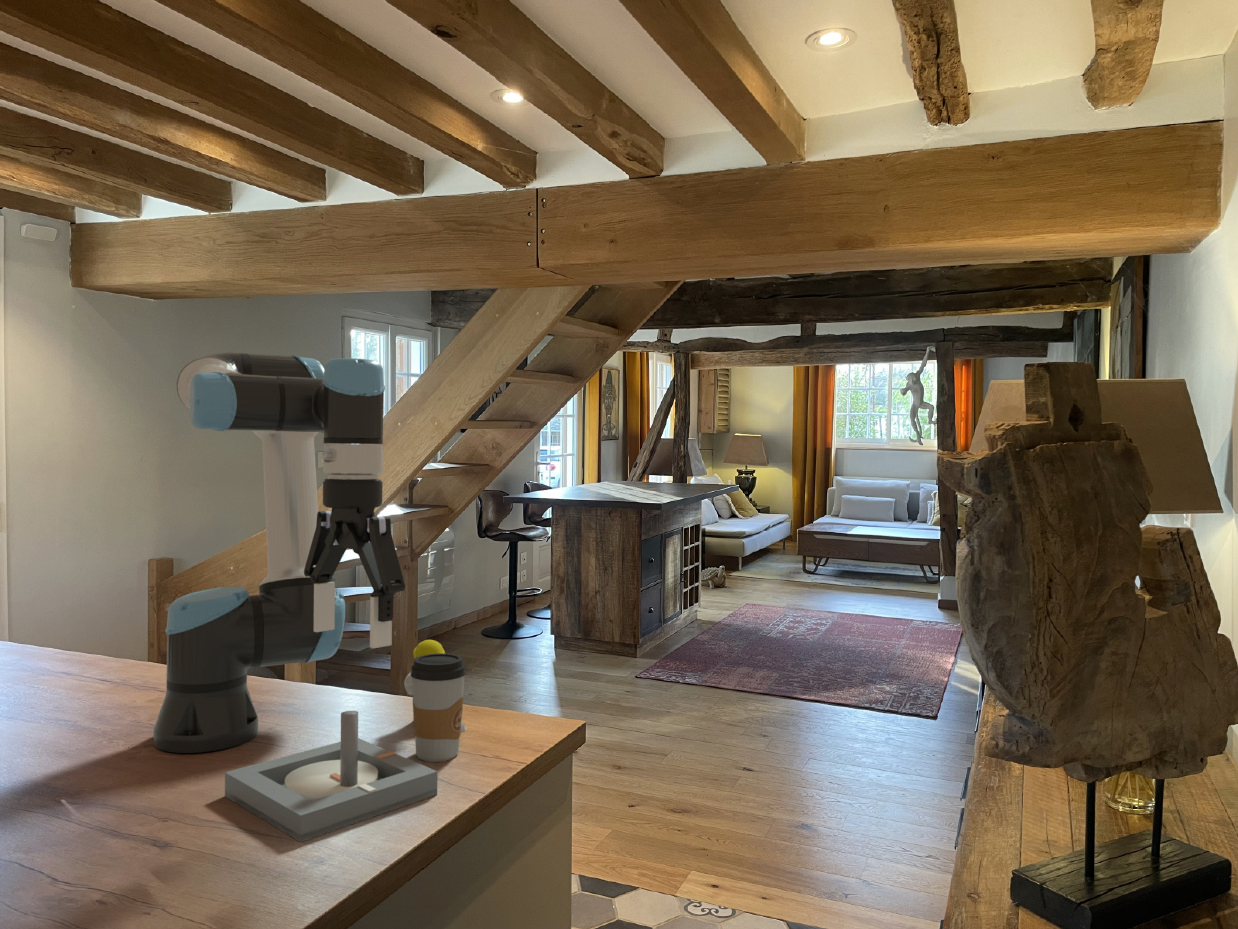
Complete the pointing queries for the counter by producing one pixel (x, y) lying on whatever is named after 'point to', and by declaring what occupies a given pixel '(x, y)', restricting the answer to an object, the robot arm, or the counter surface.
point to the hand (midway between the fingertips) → (351, 638)
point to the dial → (334, 767)
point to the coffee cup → (437, 705)
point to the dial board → (308, 819)
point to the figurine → (425, 649)
